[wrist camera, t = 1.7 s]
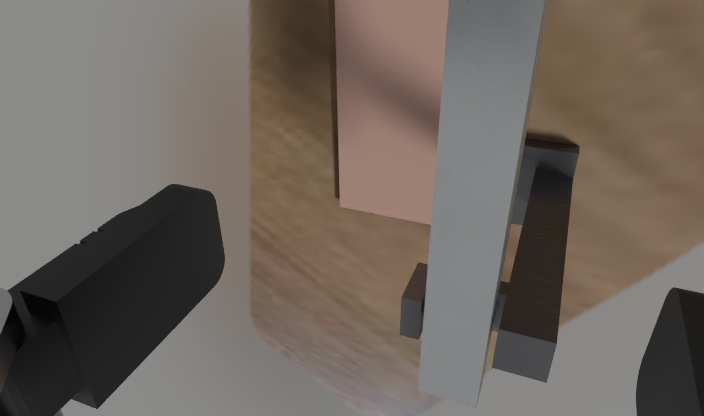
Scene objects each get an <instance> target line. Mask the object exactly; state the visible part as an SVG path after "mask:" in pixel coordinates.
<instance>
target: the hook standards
mask: <svg viewBox="0 0 704 416" xmlns="http://www.w3.org/2000/svg"><path fill="white" fill-rule="evenodd" d="M578 155H579V146H573V145H566V144H559V143H551V142H544V141H537V140H530V139H525V144H524V150H523V156H522V161H521V167H520V173H519V179H518V185H517V190H516V196H515V202H514V208H513V214H512V220H511V223H513V224H519V225H523V226H522V230H521V235H520V239H519V243H518V248H517V252H516V256H515V261H514V265H513V269H512V274H511V278H510V282H509V283H507V282H503V281H501V284H500V289H499V295H498V301H497V307H496V313H495V318H494V324H493V330H492V331H496V332H498V336H497V342H496V347H495V353H494V358H493V364H492V368H495V369H499V370H503V371H506V372H510V373H514V374H517V375H521V376H525V377H528V378H532V379H535V380H539V381H543V382H547V378H548V375H549V371H550V367H551V363H552V360H553V356H554V352H555V348H556V344H557V335H558V325H559V315H560V305H561V295H562V285H563V275H564V264H565V254H566V244H567V234H568V224H569V214H570V204H571V194H572V184H573V177H574V172H575V168H576V164H577V159H578ZM427 269H428V265H427V264H423V263H418V264H417V266H416V269H415V271H414V273H413V275H412V277H411V279H410V281H409V283H408V285H407V287H406V289H405V292H404V294H403V296H402V302H401V322H400V335H403V336H407V337H410V338H414V339H418V340H419V338H420V335H421V333H422V330H423V319H424V307H425V294H426V282H427Z"/></svg>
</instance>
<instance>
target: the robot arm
mask: <svg viewBox="0 0 704 416" xmlns="http://www.w3.org/2000/svg"><path fill="white" fill-rule="evenodd" d="M224 262H225V255H224V248H223V242H222V236H221V230H220V223H219V217H218V211H217V205H216V200H215V198H214V196H213V194H212V193H211V192H210V191H207V190H203V189H198V188H192V187H188V186H183V185H178V184H171V185H169V186H167V187H165V188H164V189H163V190H161V191H160V192H158V193H157V194H156V195H154V196H153V197H151V198H150V199H148V200H147V201H146V202H144V203H143V204H141V205H140V206H137V207H135V208H132V209H130V210H127V211H125V212H122V213H120V214H118V215H116V216H115V217H114V218H112V219H111V220H109V221H108V222H106V223H105V224H103V225H102V226H101V227H99V228H98V231H97V232H94V231H93V232H92V233H90V234H89V235H88V236H86V237H85V238H83V239H82V240H81V241H80V244H75V245H73V246H72V247H70V248H69V249H67V250H66V251H64V252H63V253H61V254H60V255H59V256H57V257H56V258H54V259H53V260H52V261H50V262H49V263H47V264H46V265H44V266H43V267H41V268H40V269H38V270H37V271H35V272H34V273H33V274H31V275H30V276H28V277H27V278H25V279H24V280H22V281H21V282H19V283H18V284H17V285H15V286H14V287H12V288H11V289H9V290H8V291H6V290H4V289H2V288H0V416H63V414H62V411H61V408H62V407H63V406H64V405H65V404H66V403H67V402H68V401H69V400H70V399H73V400H75V401H78V402H80V403H83V404H86V405H88V406H91V407H93V408H96V409H98V408H99V407H100V406H101V405H102V404H103V403H104V402H105V400H106V399H107V398H108V397H109V396H110V395H111V394H112V393H113V392H114V391H115V390H116V389H117V388H118V387H119V386H120V385H121V384H122V383H123V382H124V380H126V378H127V377H128V376H129V375H130V374H131V373H132V372H133V371H134V370H135V369H136V368H137V367H138V366H139V365H140V364H141V363H142V362H143V361H144V360H145V358H147V356H148V355H149V354H150V353H151V352H152V351H153V350H154V349H155V348H156V347H157V346H158V345H159V344H160V343H161V342H162V341H163V340H164V339H165V338H166V337H167V335H168V334H169V333H170V332H171V331H172V330H173V329H174V328H175V327H176V326H177V325H178V324H179V323H180V322H181V321H182V320H183V319H184V318H185V317H186V316H187V315H188V314H189V312H190V311H191V310H192V309H193V308H194V307H195V306H196V305H197V304H198V303H199V302H200V301H201V300H202V299H203V298H204V297H205V296H206V295H207V294H208V292H209V291H210V290H211V289H212V288H213V287H214V286H215V285H216V284H217V282H218V281H219V279H220V277H221V274H222V272H223V268H224ZM636 407H637V416H704V294H703V293H698V292H693V291H688V290H684V289H679V288H672V289H671V290H670V291H669V293H668V294H667V296H666V299H665V301H664V304H663V307H662V309H661V312H660V314H659V317H658V320H657V323H656V325H655V328H654V330H653V333H652V336H651V338H650V341H649V343H648V346H647V349H646V351H645V354H644V356H643V359H642V363H641V366H640V370H639V374H638V380H637V388H636Z"/></svg>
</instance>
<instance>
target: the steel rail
mask: <svg viewBox="0 0 704 416" xmlns="http://www.w3.org/2000/svg"><path fill="white" fill-rule="evenodd" d="M548 4H549V0H449V5H448V18H447V30H446V43H445V55H444V68H443V81H442V93H441V106H440V118H439V131H438V143H437V156H436V169H435V181H434V194H433V206H432V219H431V231H430V244H429V257H428V269H427V282H426V294H425V307H424V319H423V332H422V345H421V357H420V370H419V382H418V390H419V391H423V392H426V393H429V394H433V395H436V396H439V397H442V398H446V399H449V400H452V401H456V402H459V403H462V404H466V405H469V406H472V407H475V408H476V407H477V403H478V398H479V394H480V390H481V386H482V381H483V377H484V373H485V369H486V365H487V359H488V353H489V348H490V342H491V336H492V330H493V324H494V318H495V313H496V307H497V301H498V295H499V289H500V284H501V278H502V272H503V266H504V260H505V254H506V249H507V243H508V237H509V231H510V225H511V220H512V214H513V208H514V202H515V196H516V190H517V185H518V179H519V173H520V167H521V161H522V156H523V150H524V144H525V138H526V132H527V126H528V121H529V115H530V109H531V103H532V97H533V92H534V86H535V80H536V74H537V68H538V62H539V57H540V51H541V45H542V39H543V33H544V28H545V22H546V16H547V10H548Z"/></svg>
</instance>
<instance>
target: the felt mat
mask: <svg viewBox="0 0 704 416" xmlns="http://www.w3.org/2000/svg"><path fill="white" fill-rule="evenodd" d="M448 5H449V0H335V32H336V71H337V110H338V149H339V189H340V207H344V208H349V209H354V210H359V211H364V212H369V213H374V214H379V215H384V216H389V217H394V218H399V219H404V220H409V221H414V222H419V223H424V224H429V225H431V219H432V206H433V194H434V181H435V169H436V156H437V143H438V131H439V118H440V106H441V93H442V81H443V68H444V55H445V43H446V30H447V18H448Z"/></svg>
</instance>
